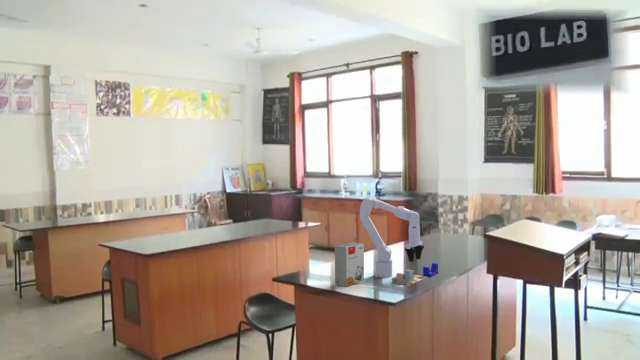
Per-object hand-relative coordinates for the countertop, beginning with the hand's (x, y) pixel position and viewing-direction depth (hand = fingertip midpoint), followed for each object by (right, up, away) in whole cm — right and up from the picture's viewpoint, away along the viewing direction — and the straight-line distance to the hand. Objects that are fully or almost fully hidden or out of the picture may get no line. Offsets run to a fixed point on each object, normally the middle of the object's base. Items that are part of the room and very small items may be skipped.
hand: (414, 260), depth 264 cm
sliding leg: (-4, -9, -7) cm, 12 cm away
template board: (-4, -10, -7) cm, 13 cm away
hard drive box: (-35, -11, -7) cm, 37 cm away
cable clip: (+10, -10, +5) cm, 15 cm away
